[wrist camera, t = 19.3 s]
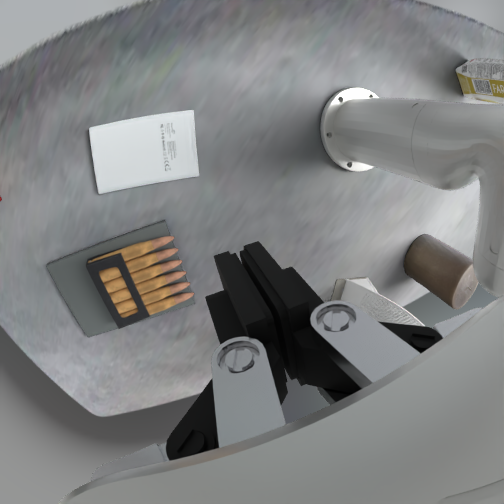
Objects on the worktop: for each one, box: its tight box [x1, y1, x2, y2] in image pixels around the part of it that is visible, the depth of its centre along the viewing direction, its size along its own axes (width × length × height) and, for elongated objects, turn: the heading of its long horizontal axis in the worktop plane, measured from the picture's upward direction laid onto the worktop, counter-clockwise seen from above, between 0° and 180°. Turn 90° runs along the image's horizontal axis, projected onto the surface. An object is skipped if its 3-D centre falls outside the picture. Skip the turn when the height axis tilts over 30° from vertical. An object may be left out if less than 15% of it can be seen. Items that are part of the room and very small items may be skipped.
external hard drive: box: [89, 110, 199, 194], centre depth 32 cm, size 2×8×12 cm
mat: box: [46, 220, 195, 337], centre depth 37 cm, size 18×13×1 cm
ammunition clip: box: [86, 236, 194, 329], centre depth 37 cm, size 11×2×12 cm
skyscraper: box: [331, 277, 426, 327], centre depth 40 cm, size 8×8×28 cm
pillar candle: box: [404, 234, 478, 309], centre depth 48 cm, size 10×10×15 cm
